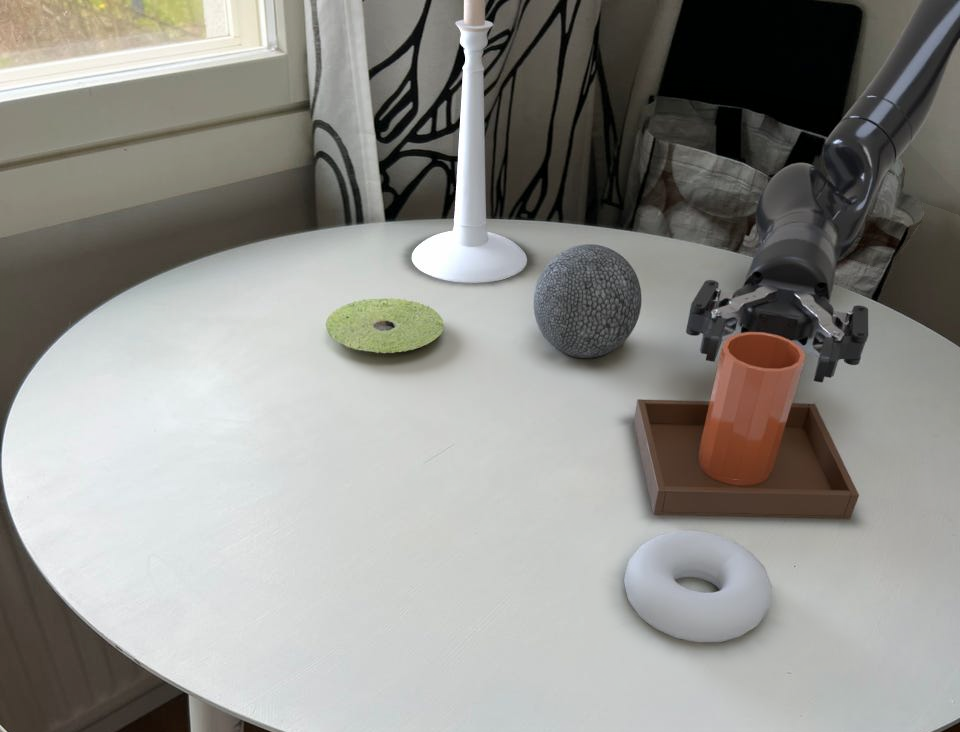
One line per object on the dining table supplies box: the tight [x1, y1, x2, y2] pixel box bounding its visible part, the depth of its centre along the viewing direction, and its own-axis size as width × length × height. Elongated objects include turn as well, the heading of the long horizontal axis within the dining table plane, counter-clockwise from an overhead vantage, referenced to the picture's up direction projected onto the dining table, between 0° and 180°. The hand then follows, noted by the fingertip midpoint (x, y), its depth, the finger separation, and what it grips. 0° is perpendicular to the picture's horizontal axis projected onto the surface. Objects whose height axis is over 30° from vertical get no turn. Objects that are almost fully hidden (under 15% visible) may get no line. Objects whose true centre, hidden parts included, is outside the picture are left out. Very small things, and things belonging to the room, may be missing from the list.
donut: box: [623, 530, 773, 643], centre depth 65 cm, size 10×4×10 cm
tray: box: [633, 398, 860, 520], centre depth 77 cm, size 15×13×3 cm
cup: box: [698, 332, 807, 486], centre depth 74 cm, size 6×6×10 cm
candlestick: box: [411, 0, 528, 284], centre depth 95 cm, size 13×13×30 cm
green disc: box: [325, 297, 444, 354], centre depth 91 cm, size 11×11×2 cm
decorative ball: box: [533, 243, 642, 359], centre depth 88 cm, size 10×10×10 cm
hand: (766, 360), depth 75 cm, fingers open, 8 cm apart
